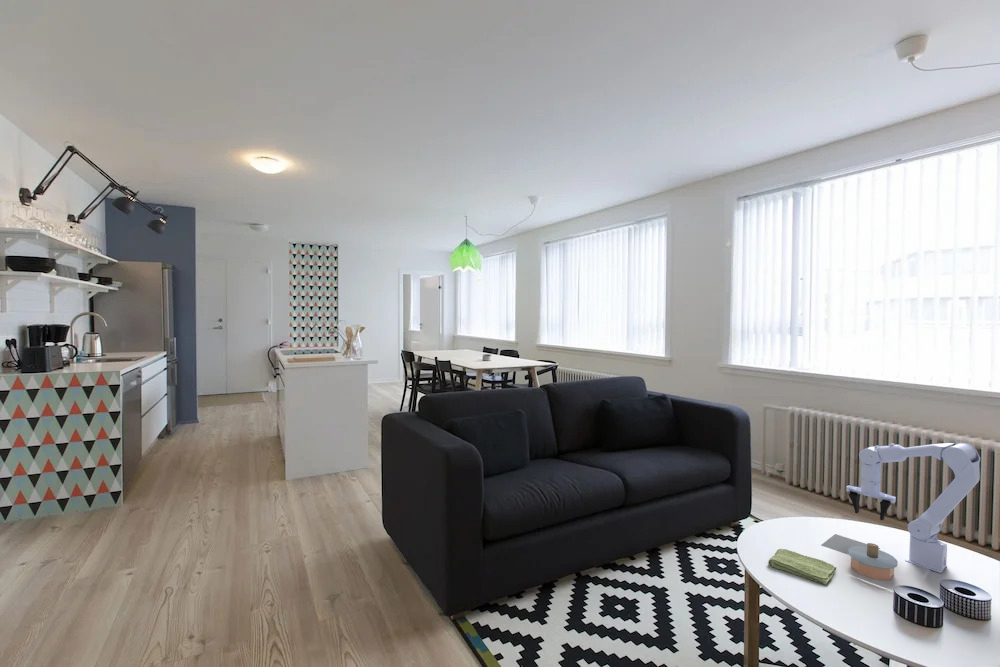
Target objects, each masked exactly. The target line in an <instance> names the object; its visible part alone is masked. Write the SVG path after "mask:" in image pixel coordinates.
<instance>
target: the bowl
mask: <svg viewBox="0 0 1000 667" xmlns="http://www.w3.org/2000/svg"><path fill="white" fill-rule="evenodd" d="M850 567H851V568H852V569H853V570H854V571H855V572H857V574H860V575H863V576H865V577H869V578H870V579H871V578H872V579H874V580H886V581H887V580H888V581H889V580H891V579H892V578H893V577H894V575H895V568H892V569H883V568H876V567H872V566H868V565H865V564H863V563H860V562H858V561H856V560H854V559H853V558H852V557H850Z"/></svg>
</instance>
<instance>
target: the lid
mask: <svg viewBox="0 0 1000 667" xmlns="http://www.w3.org/2000/svg"><path fill="white" fill-rule="evenodd" d="M866 544H867V547H863V546H854V547H850V548H849V549H848V554H849V557H850V558H851V557H852V558H853V559H854V560H856V561H858V562H860V563H863V564H865V565H868V566H872V567H876V568H883V569H892V568H894V569H895V568H897V567H898V564H899V562H898V560H897V558H895V557H894V556H893V555H892V554H890V553H887V552H885V551H883V550H881V549H879V550H878V548H879V545H878V544H876V543H872V542H868V543H866ZM848 554H847V555H848Z"/></svg>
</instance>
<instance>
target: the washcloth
mask: <svg viewBox="0 0 1000 667" xmlns="http://www.w3.org/2000/svg"><path fill="white" fill-rule="evenodd" d="M767 564H768V565H769V566H770V567H771V568H774V569H777V570H780V571H782V572H785V573H789V574H792V575H794V576H798V577H802V578H804V579H806V580H807V579H808V580H810V581H813V582H816V583H818V584H821V585H822V584H823V585H827V583H828V582H829V580H831V579H832V578H833V575H834V573H835V571H836V570H837V567H836V566H834V565H833V564H832V563H829V562H827V561H824V559H818V558H815V557H811V556H808V555H804V554H801V553H798V552H796V551H792V550H788V549H785V548H778V549H777V550H776V552H775V553H774V555H773V556H771V557H770V558H769V559H768V562H767Z"/></svg>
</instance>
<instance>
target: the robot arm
mask: <svg viewBox="0 0 1000 667" xmlns="http://www.w3.org/2000/svg"><path fill="white" fill-rule="evenodd" d="M859 451H860V452H859V454H858V456H859V460H860V461H861V470H860V472H861V473H860V474H861V476H860V487H859V486H852V485H850V484H849V485H847V486H846V487H845V488H846V490H845V491H846V492H847V493H848V497H849V499H850V501H851V503H852V505H853V509H854V513H855V514H859V513H860V500H861V495H862V496H865V497H869V498H873V499H877V500H881V501H880V502H879V506H880V514H879V520H880V521H884V520H885V517H886V514H887V512H888V510H889V508H890V506H891V505H892V504H895V503H896V500H897V499H896V498H897V497H896V496H893V495H890V494H886V493H885V492H881V482H882V480H881V478H882V463H884V464H885V463H886V464H887V463H896V462H897V463H898V462H905V461H906V460H907V458H914V457H916V458H917V457H934V458H936V459H937V460H939V461H942V460H943V461H944V463H945V464H946V465H947V466H948V467H949V468H950V469H951V470H952V471H953V474H954V476H955V478H954V479H952V481H951V482H950V483H949V484H948V486H946V488H945V489H944V490H943V491H942V493H940V495H939V496H938V497H937V498H936V499H935V500H934V501H933V503H932V504H931V505H930V506H929V507H928V508H927V509H926V510H925V512H923V513H922V514H921V515H920V516H919V517H918V518H916V519H915V520H911V521H910V522H909V523H908V524H907V530H908V533H909V553H908V556H907V557H906V558H905V560H904V561H905V562H907V563H909V564H912V565H916V566H919V567H922V568H925V569H928V570H930V571H934V572H936V573H940V574H942V573H943V571H945V569H946V567H947V566H948V565H947V559H948V545H947V543H945V542H942V541H940V540H939V537H938V534H939V533H940V532H941V531H942V524H943V523H944V522H945V519H946V518H947V517H948V516H949V515H950V514H951V513H952V512H953V510H954V509H955V508H956V507H957V506H958V505H959V503H961V501H963V499H964V498H965V497H966V496H967V495H968V494H969V492H971V491H972V490H973V489H974V488H975V486H976V485H977V484H978V483H979V481H980V478H981V477H980V476H981V475H980V473H981V471H980V462H981V459H982V458H981V457H980V454H979V452H978V451H977V449H976V447H974V446H972V445H971V444H969V443H967V442H966V443H965V442H959V443H956V444H955V443H954V442H948V443H947V442H944V443H942V442H941V443H934V444H932V443H931V444H925V445H924V444H923V445H916V446H910V447H909V446H908V447H904V446H902V445H900V444H895V443H889V444H888V445H881V446H879V445H874V446H868V447H866V448H864V449H861V450H859Z"/></svg>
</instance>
